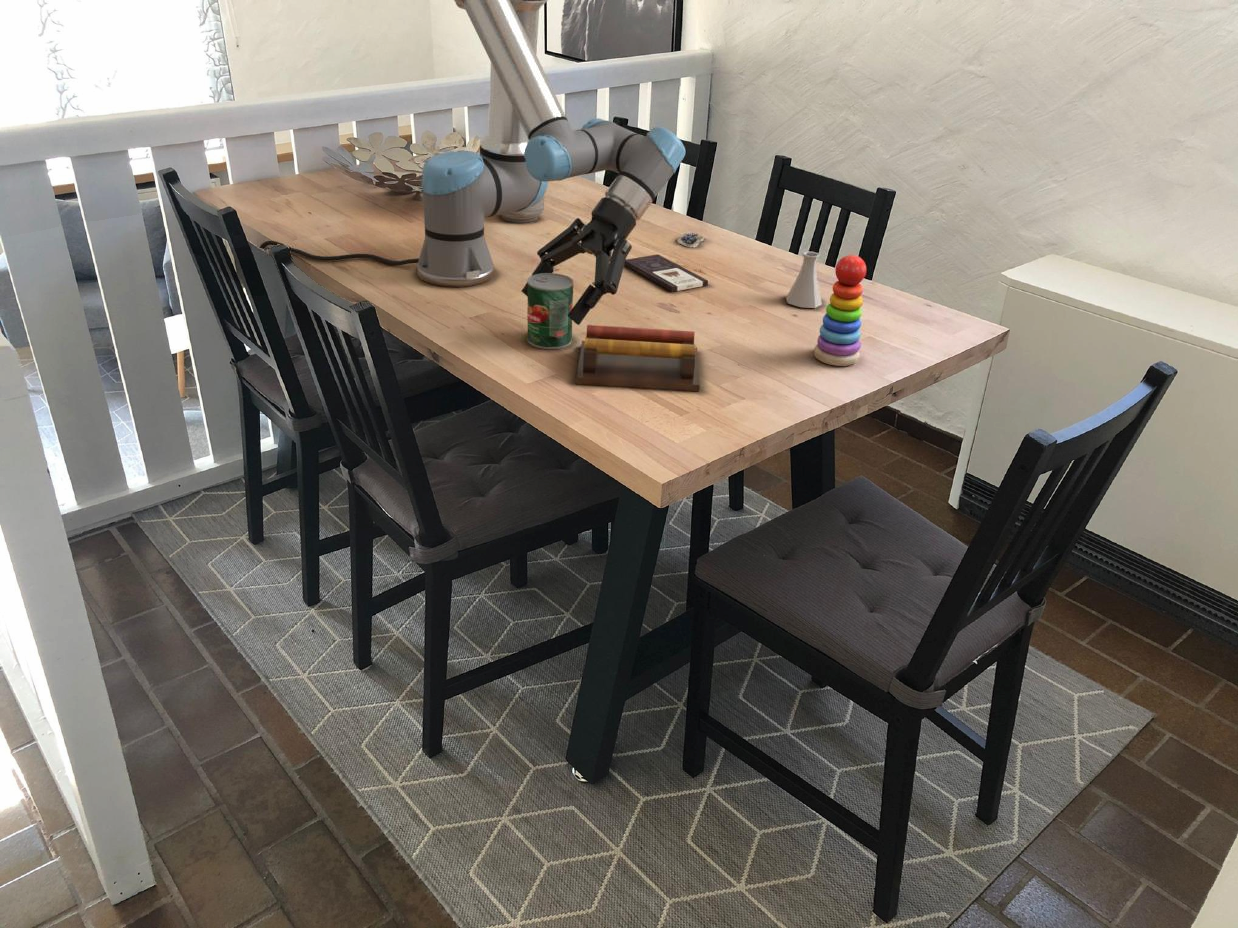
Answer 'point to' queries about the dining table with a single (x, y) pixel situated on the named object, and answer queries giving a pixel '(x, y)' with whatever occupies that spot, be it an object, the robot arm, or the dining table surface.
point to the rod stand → (639, 358)
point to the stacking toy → (843, 315)
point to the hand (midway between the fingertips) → (549, 308)
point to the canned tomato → (549, 310)
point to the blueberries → (690, 239)
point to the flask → (806, 284)
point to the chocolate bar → (665, 273)
